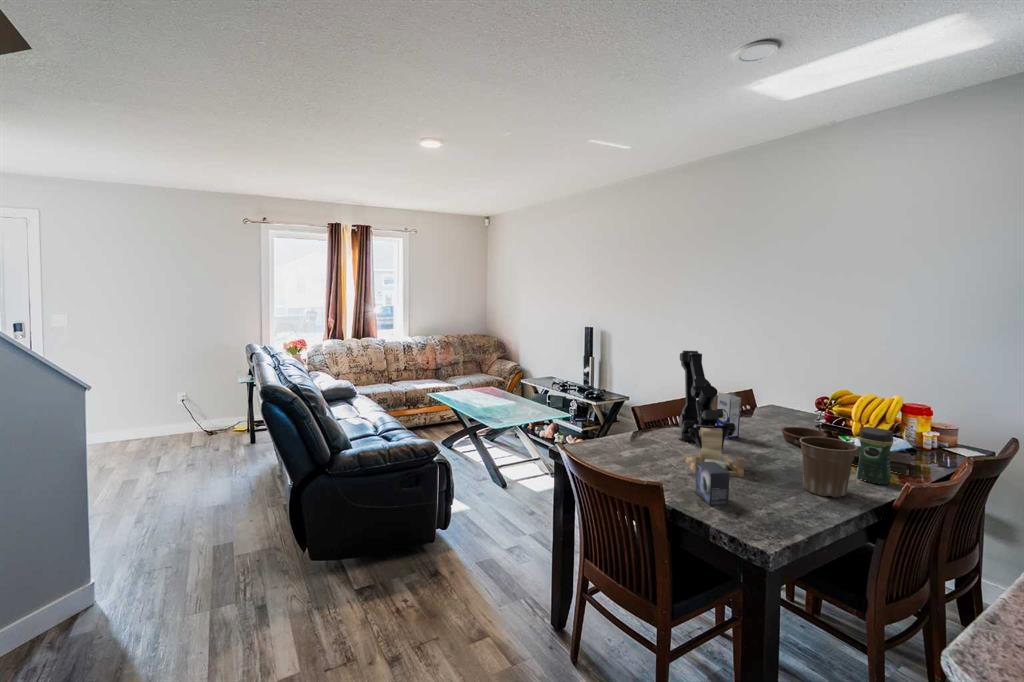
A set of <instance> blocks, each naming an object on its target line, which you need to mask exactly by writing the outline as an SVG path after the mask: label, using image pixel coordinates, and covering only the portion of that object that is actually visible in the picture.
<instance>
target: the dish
mask: <svg viewBox="0 0 1024 682" xmlns="http://www.w3.org/2000/svg"><path fill="white" fill-rule="evenodd" d="M780 431H781V433H782V437H783V439H784V440H785V441H786V442H788V443H790V444H794V445H797V446H799V447H801V442H800V438H803V437H825V438H827V433H825V432H824V431H821V430H817V429H813V428H809V427H803V426H786V427H785V426H784V427H781V428H780Z"/></svg>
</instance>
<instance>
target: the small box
mask: <svg viewBox="0 0 1024 682" xmlns="http://www.w3.org/2000/svg"><path fill="white" fill-rule="evenodd" d="M728 471H729V470H728ZM728 471H727V470H726V469H724V468H723V467H721V466H720V465H719V464H717V463H716V462H714V461H712V462H697V466H696V475H695V494H696V495H697V496H699V498H701V500H702V501H704V502H705V503H706V504H707V505H708V506H709V507H718V506H719V507H720V506H723V507H724V506H726V507H727V506H729V505H730V500H729V499H730V498H729V494H730V478H731V476H730V472H728Z"/></svg>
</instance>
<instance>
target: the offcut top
mask: <svg viewBox="0 0 1024 682" xmlns="http://www.w3.org/2000/svg"><path fill="white" fill-rule="evenodd" d="M712 461H714V462H716V463H717V464H719V465H720V466H721V467H723V468H726V466H727V464H726V461H724V460H722V459H721V460H713V459H706V458H705V462H712Z"/></svg>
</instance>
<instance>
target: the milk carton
mask: <svg viewBox="0 0 1024 682" xmlns="http://www.w3.org/2000/svg"><path fill="white" fill-rule="evenodd" d="M741 403H742V397H739V396H737V394H736V393H734V392H728V393H724V392H720V391H718V393H717V406H716V407H717V408H716V410H717V409H722V410H723V418H719V419H717V424H715V425H716V426H722V425H723V423H724V422H729V423H734V424H735V427H736V429H735V431H734V433H733V435H732V436H727V437H726V438H727V439H726V440H729V439H728V438H734V439H737V438H736V437H740V436H739V435H740V421H741Z"/></svg>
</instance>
